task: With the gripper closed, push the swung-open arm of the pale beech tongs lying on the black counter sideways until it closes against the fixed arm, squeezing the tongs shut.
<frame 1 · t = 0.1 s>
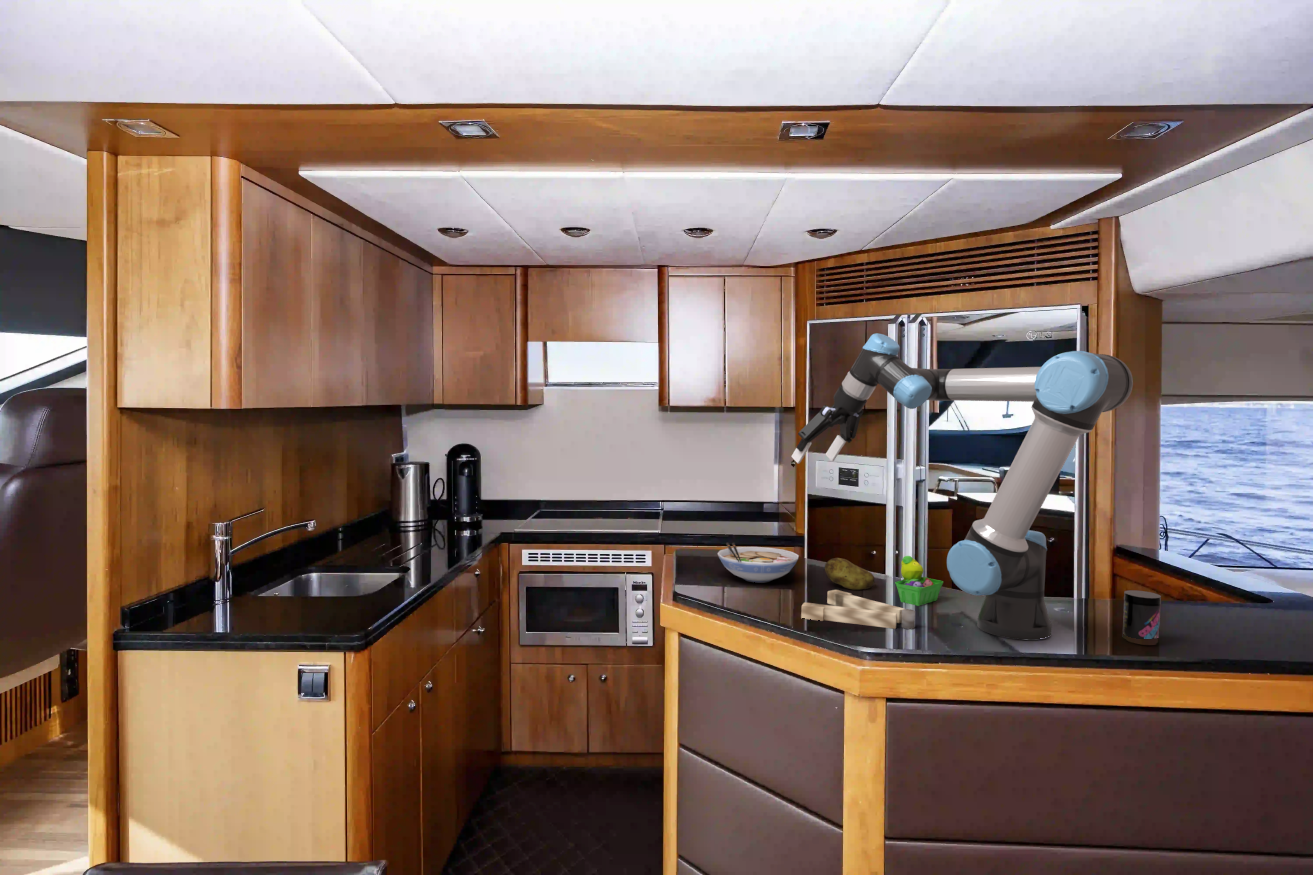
hand: (812, 458, 203), 36 cm above the counter, tool tilted 35°, fingers open, 13 cm apart
supplement container: (1140, 642, 169), on the counter
ramen bowl: (757, 580, 221), on the counter
tongs fixed: (907, 627, 177), on the counter
potato: (848, 588, 213), on the counter
fruit basket: (916, 601, 201), on the counter
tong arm: (865, 605, 188), point 2 cm above the counter, hinge at 30.0°
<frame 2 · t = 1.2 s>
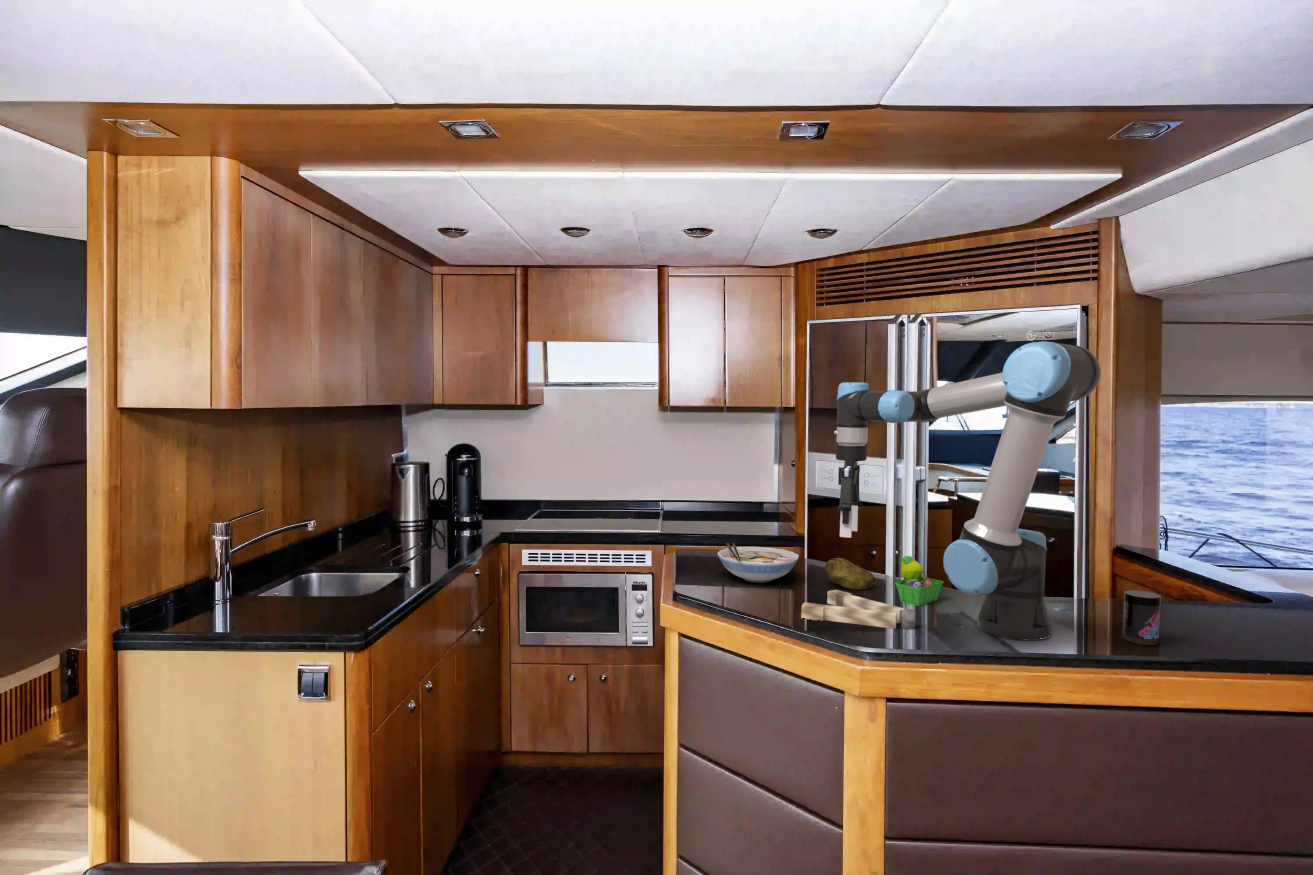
hand: (848, 533, 196), 18 cm above the counter, tool pointing down, fingers open, 9 cm apart
nothing on the counter moved.
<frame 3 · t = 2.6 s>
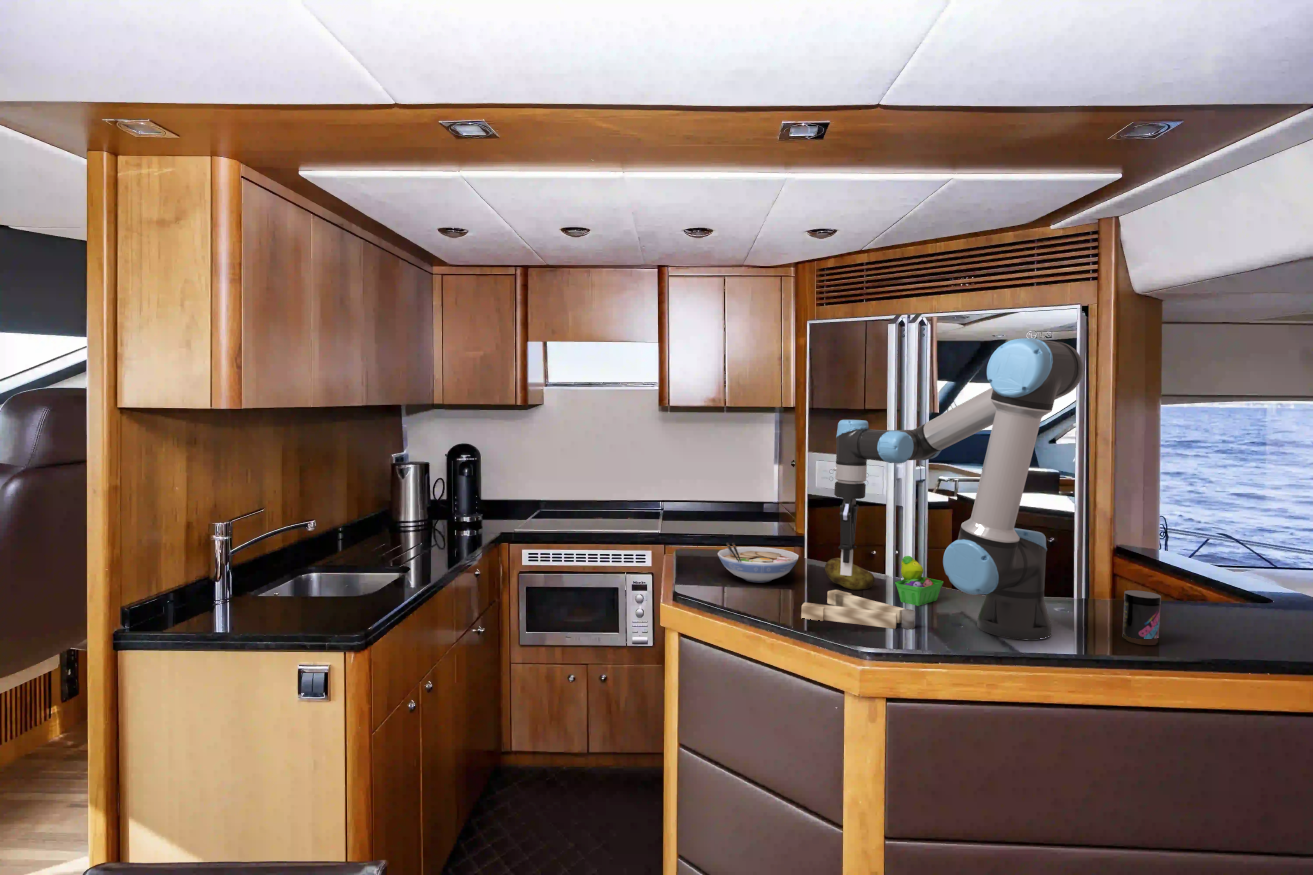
hand: (846, 574, 197), 7 cm above the counter, tool pointing down, fingers closed
nothing on the counter moved.
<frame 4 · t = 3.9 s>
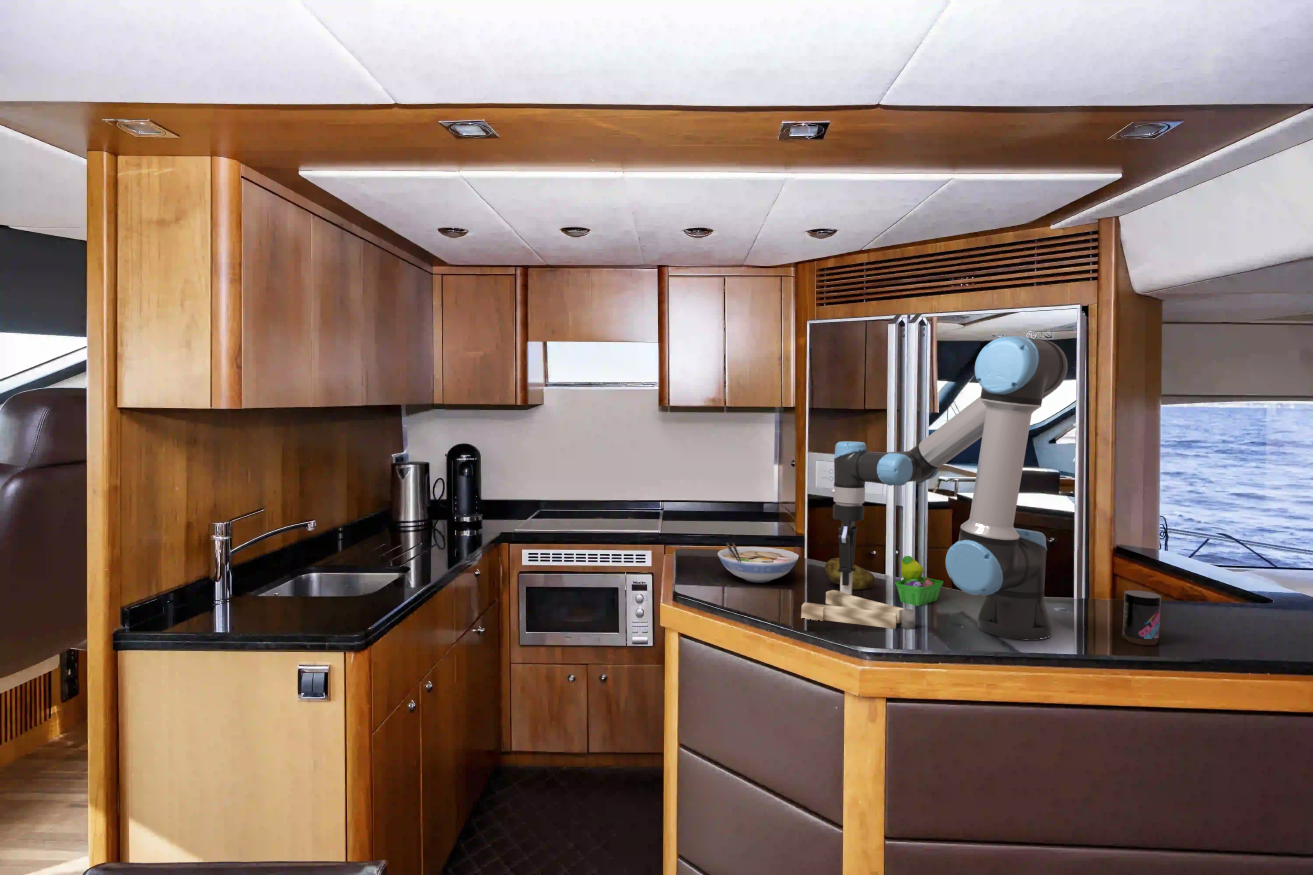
hand: (845, 597, 196), 2 cm above the counter, tool pointing down, fingers closed
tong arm: (864, 605, 188), point 2 cm above the counter, hinge at 28.6°, touching gripper
everything else where it was.
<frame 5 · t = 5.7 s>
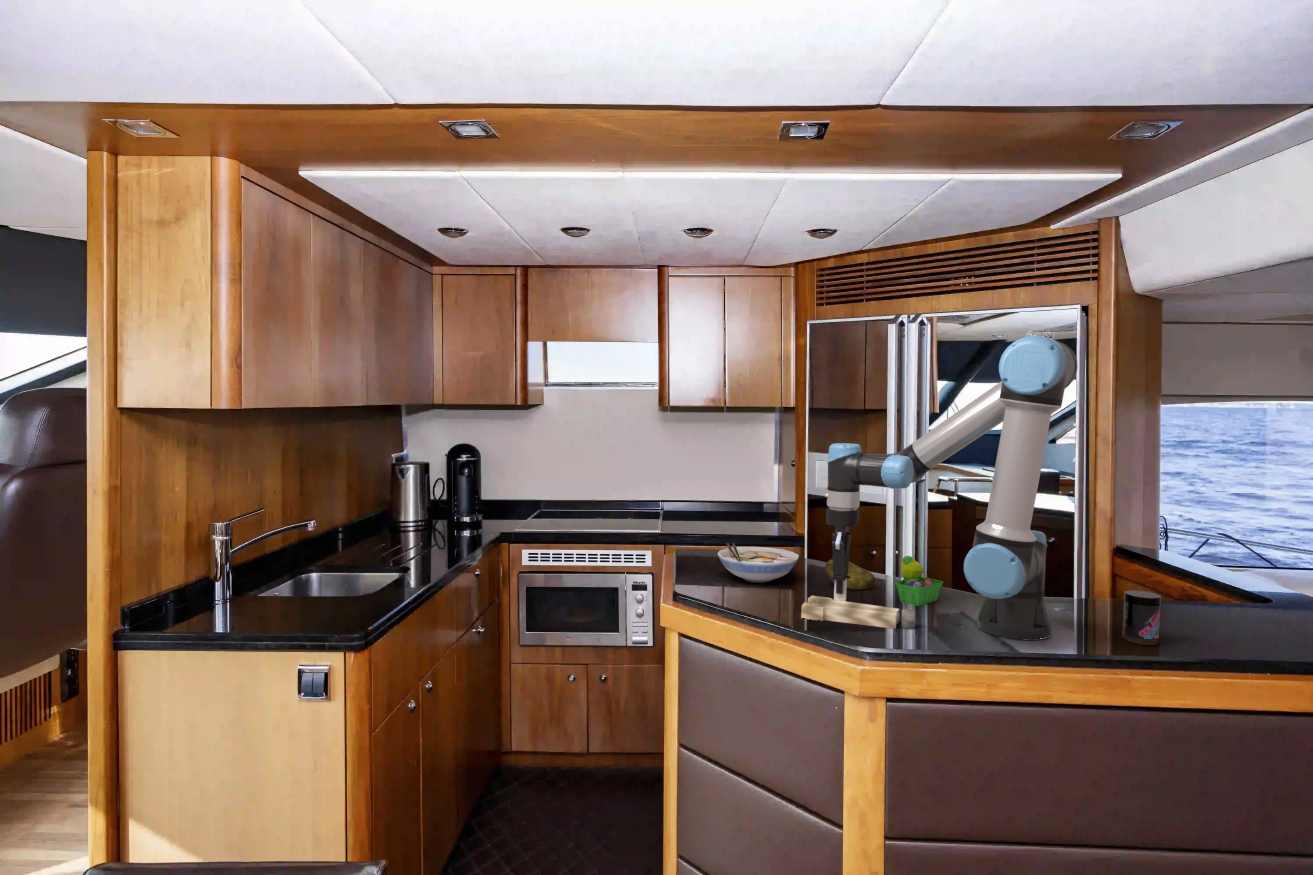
hand: (839, 606, 188), 2 cm above the counter, tool pointing down, fingers closed
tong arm: (852, 609, 185), point 2 cm above the counter, hinge at 6.5°, touching gripper
everything else where it was.
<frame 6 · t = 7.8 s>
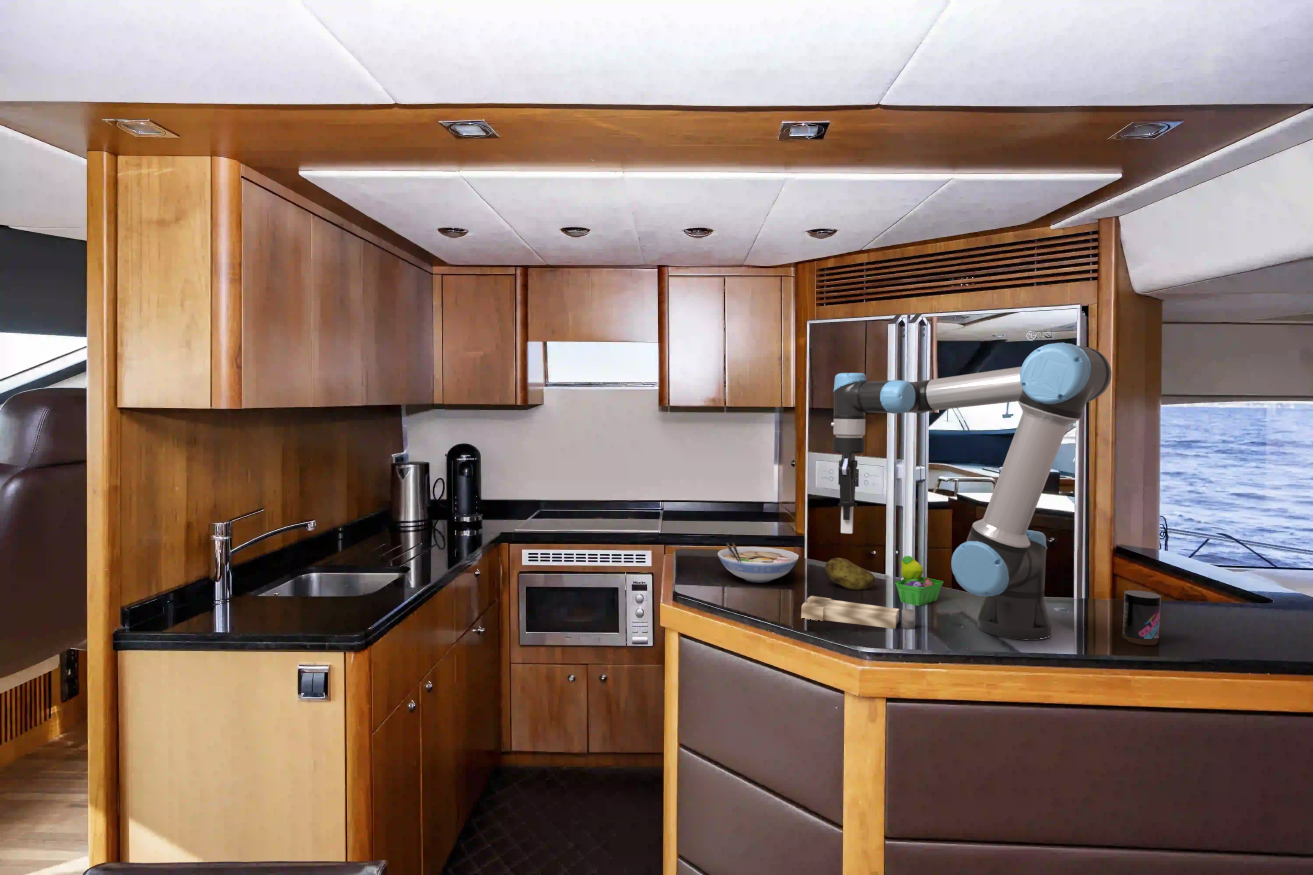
hand: (846, 532, 192), 19 cm above the counter, tool pointing down, fingers closed
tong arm: (852, 609, 184), point 2 cm above the counter, hinge at 5.3°
everything else where it was.
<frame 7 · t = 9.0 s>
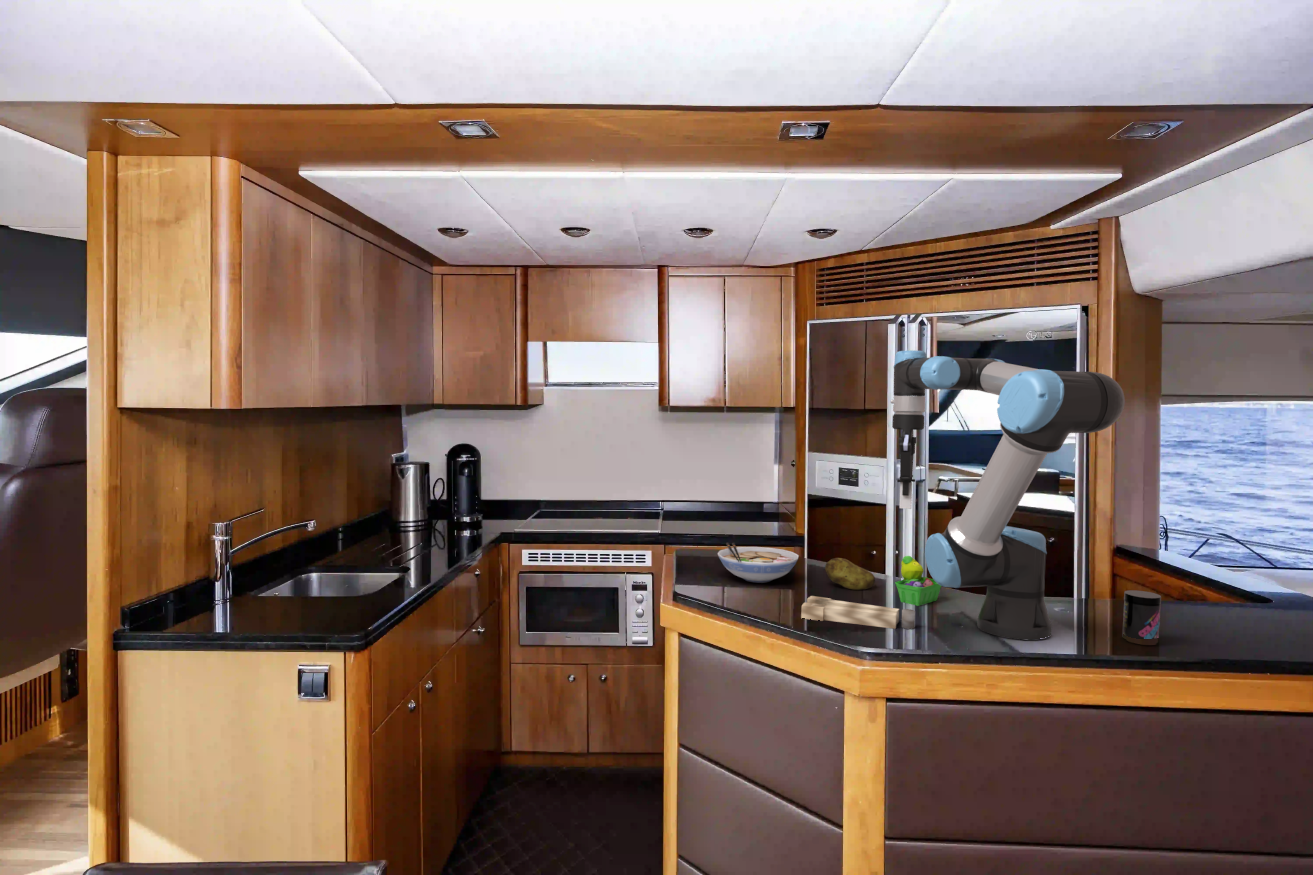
hand: (905, 508, 195), 24 cm above the counter, tool pointing down, fingers closed
nothing on the counter moved.
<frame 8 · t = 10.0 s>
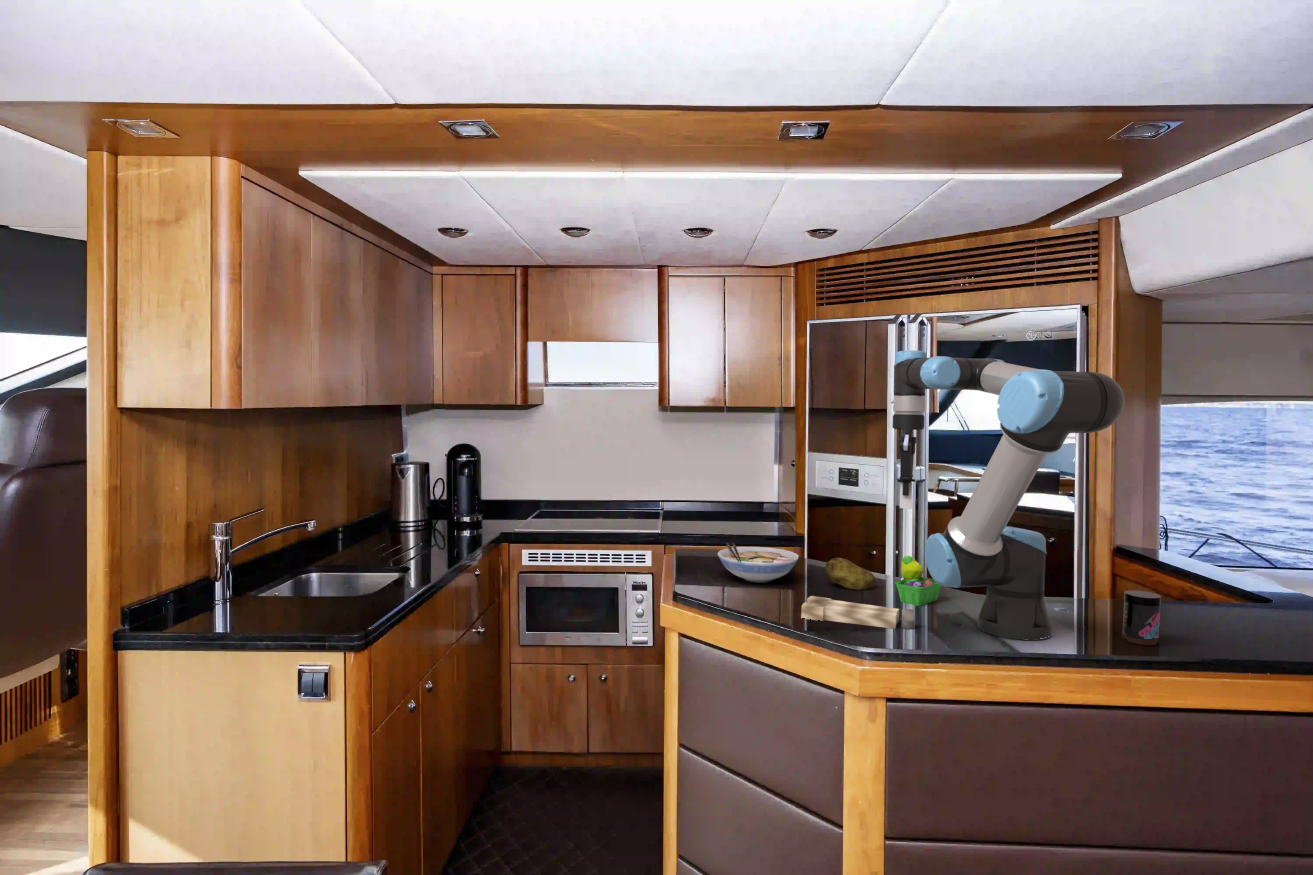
hand: (905, 508, 195), 24 cm above the counter, tool pointing down, fingers closed
nothing on the counter moved.
at the end: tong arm at +5° (first picture: +30°) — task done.
